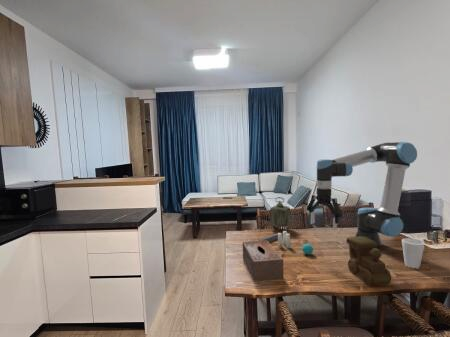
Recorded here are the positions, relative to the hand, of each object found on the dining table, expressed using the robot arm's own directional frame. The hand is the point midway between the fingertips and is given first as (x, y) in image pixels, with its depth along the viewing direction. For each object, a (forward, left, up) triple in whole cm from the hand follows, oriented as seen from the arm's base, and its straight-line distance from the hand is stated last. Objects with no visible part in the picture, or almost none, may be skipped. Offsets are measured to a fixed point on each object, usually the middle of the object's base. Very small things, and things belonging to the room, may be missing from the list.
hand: (323, 226), depth 142 cm
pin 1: (+28, +2, -19) cm, 34 cm away
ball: (+10, 0, -16) cm, 19 cm away
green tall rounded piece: (+50, -24, -19) cm, 59 cm away
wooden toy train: (-24, +2, -19) cm, 31 cm away
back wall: (+39, 0, -19) cm, 43 cm away
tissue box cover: (+16, +32, -20) cm, 41 cm away
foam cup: (-34, -27, -19) cm, 48 cm away
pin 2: (+28, -3, -19) cm, 34 cm away
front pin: (+24, 0, -19) cm, 31 cm away
